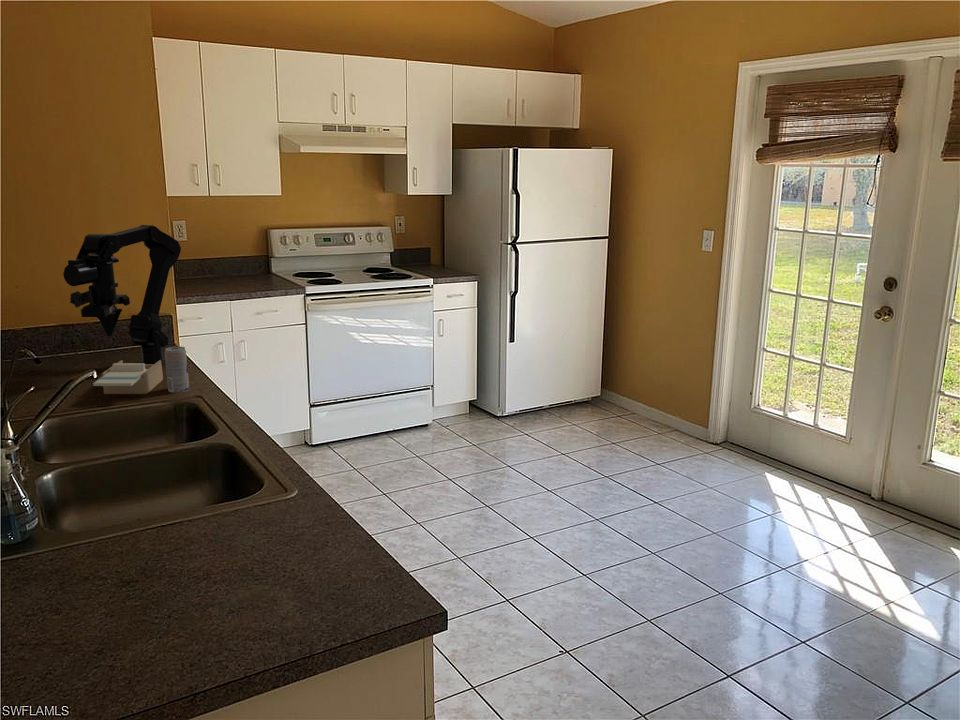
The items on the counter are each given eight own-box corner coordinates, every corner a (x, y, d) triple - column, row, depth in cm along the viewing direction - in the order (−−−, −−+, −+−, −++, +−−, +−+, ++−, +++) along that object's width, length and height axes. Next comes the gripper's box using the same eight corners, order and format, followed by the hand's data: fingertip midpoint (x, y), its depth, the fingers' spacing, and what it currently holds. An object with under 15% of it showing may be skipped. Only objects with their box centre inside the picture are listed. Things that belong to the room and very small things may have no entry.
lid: (113, 371, 208) (112, 362, 208) (149, 371, 209) (148, 362, 208) (93, 385, 196) (92, 376, 196) (131, 385, 197) (130, 376, 196)
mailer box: (123, 381, 217) (120, 360, 215) (163, 381, 218) (161, 360, 216) (104, 396, 205) (101, 373, 203) (146, 395, 205) (144, 373, 204)
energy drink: (188, 387, 213) (184, 345, 209) (190, 393, 208) (187, 350, 205) (167, 390, 210) (163, 347, 207) (169, 395, 206) (165, 352, 202)
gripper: (87, 274, 221) (94, 328, 225) (57, 286, 203) (64, 344, 207) (127, 275, 221) (133, 328, 226) (100, 286, 203) (107, 344, 208)
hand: (109, 335), depth 216 cm, fingers closed
